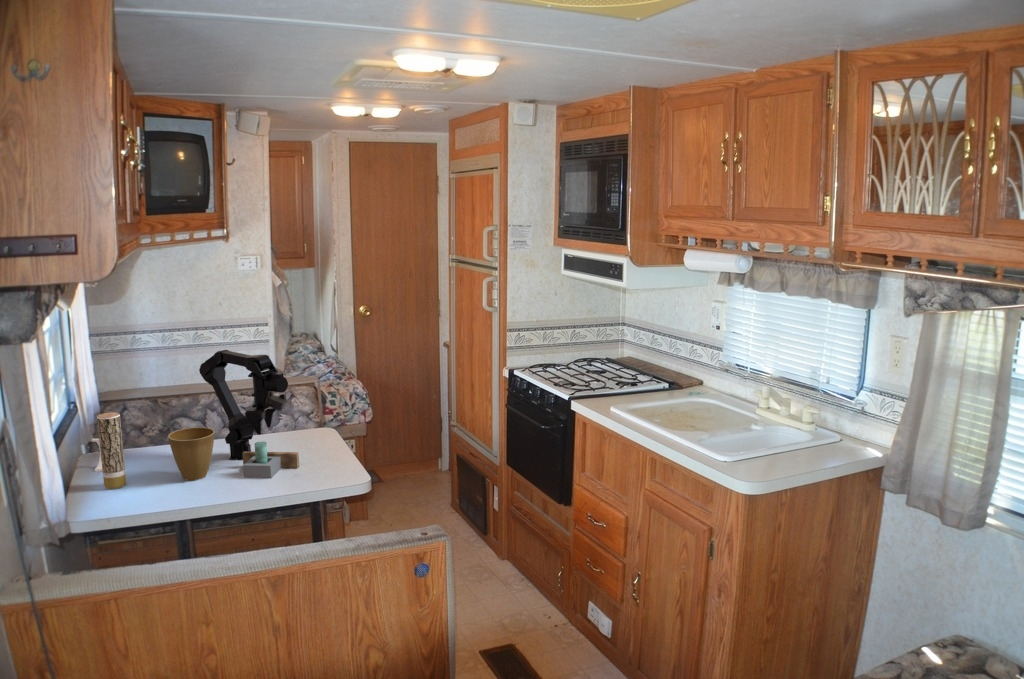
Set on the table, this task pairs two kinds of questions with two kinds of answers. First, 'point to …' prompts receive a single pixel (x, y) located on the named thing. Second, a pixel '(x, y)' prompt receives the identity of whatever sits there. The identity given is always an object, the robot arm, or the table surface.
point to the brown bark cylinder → (111, 450)
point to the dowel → (261, 452)
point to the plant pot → (192, 451)
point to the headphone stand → (99, 467)
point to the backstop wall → (287, 458)
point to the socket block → (261, 468)
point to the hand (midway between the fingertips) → (264, 431)
